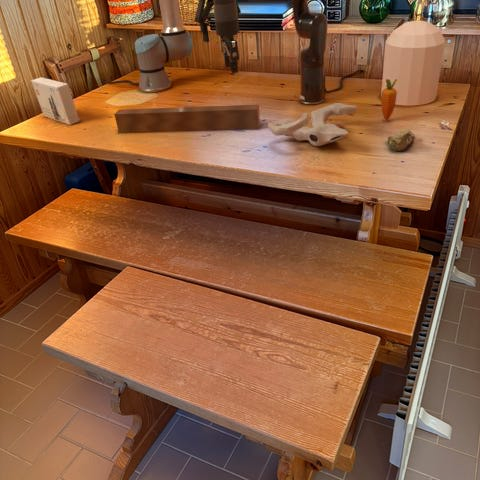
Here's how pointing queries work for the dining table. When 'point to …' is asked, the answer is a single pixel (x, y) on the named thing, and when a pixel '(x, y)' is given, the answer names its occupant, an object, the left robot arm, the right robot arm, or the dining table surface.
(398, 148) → the rock
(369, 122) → the dining table surface
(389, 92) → the carrot
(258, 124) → the beam
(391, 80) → the container
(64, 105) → the skincare box
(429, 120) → the dining table surface
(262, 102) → the dining table surface
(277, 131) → the animal horns
